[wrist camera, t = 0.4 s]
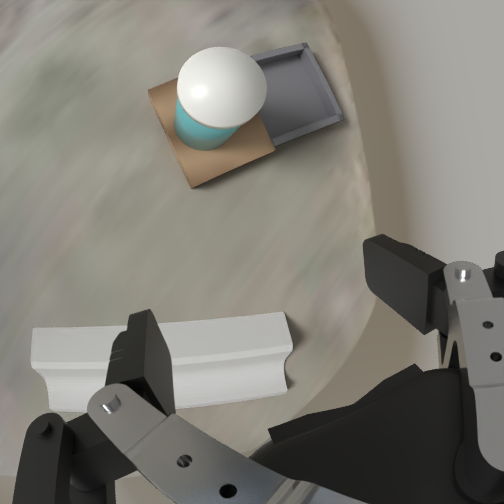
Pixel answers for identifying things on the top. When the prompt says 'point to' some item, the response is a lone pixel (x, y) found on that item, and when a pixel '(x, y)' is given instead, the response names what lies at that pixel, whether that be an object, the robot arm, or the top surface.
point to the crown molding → (183, 360)
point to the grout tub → (217, 96)
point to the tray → (295, 94)
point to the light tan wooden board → (216, 160)
